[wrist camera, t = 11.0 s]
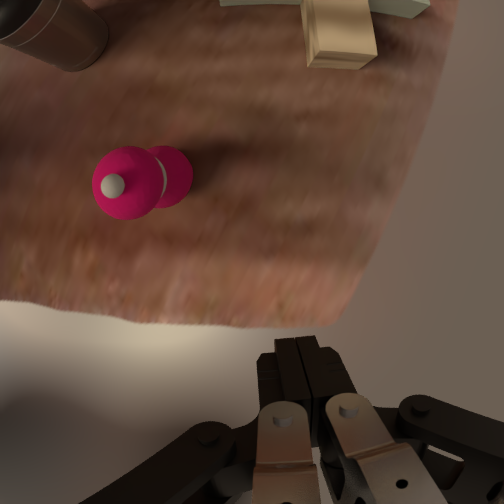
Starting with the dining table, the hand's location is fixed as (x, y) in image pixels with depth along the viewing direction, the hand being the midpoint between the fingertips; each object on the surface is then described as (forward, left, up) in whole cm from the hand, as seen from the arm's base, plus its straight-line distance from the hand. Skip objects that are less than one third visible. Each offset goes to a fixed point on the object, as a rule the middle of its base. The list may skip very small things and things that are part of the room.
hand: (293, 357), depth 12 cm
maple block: (-16, +22, -31) cm, 41 cm away
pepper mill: (-11, -6, -31) cm, 34 cm away
